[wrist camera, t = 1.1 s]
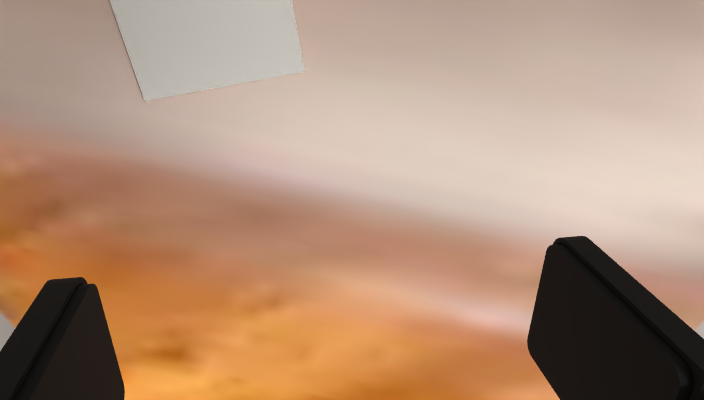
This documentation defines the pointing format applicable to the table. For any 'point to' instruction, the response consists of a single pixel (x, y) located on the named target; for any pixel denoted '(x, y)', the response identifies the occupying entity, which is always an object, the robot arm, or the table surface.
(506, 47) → the table surface
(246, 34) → the mat
